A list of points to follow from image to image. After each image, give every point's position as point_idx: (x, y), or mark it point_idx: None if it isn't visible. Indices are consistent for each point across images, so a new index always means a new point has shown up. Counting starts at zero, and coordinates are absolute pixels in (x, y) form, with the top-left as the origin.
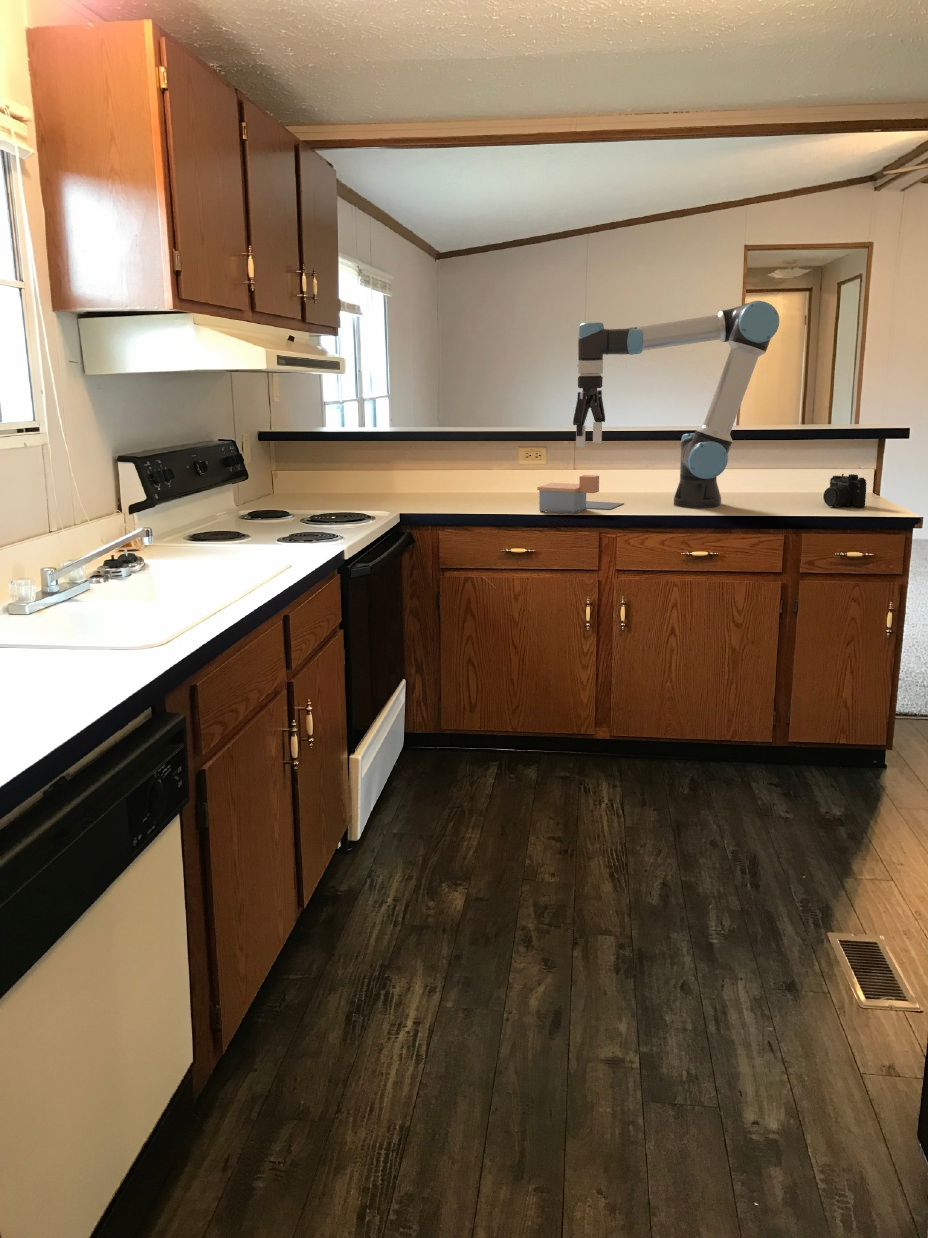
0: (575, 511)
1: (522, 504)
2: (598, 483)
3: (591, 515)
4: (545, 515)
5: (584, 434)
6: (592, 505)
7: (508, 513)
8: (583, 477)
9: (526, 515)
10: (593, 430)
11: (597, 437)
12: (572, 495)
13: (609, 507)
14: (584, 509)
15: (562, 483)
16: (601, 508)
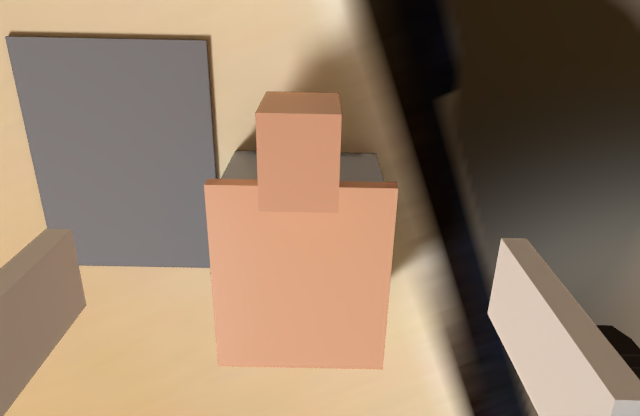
0: (360, 155)
1: (228, 403)
2: (270, 101)
3: (387, 65)
4: (443, 244)
5: (582, 313)
6: (146, 155)
7: (435, 372)
8: (338, 185)
9: (461, 305)
10: (20, 388)
11: (52, 293)
12: None
13: (163, 58)
14: (255, 151)
15: (225, 314)
16: (208, 84)
